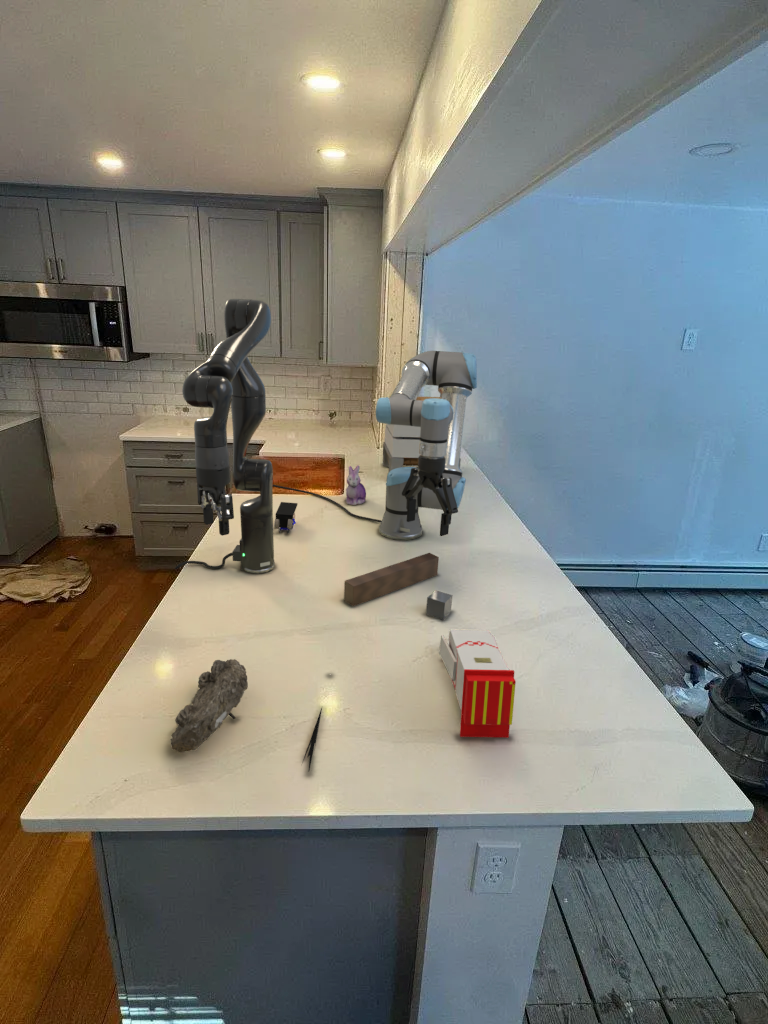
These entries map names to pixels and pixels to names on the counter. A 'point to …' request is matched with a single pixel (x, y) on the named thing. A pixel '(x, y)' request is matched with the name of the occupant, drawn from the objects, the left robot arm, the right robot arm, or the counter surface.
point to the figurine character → (285, 516)
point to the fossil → (210, 704)
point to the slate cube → (439, 604)
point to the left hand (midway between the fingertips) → (216, 528)
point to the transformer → (402, 444)
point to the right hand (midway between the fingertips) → (426, 527)
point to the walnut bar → (390, 579)
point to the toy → (479, 682)
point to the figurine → (355, 488)
